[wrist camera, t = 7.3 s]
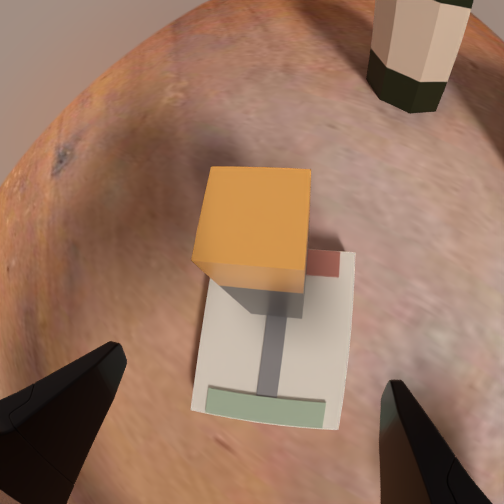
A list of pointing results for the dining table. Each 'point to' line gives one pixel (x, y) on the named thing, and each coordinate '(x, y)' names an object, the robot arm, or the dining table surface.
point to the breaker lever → (257, 236)
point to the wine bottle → (415, 50)
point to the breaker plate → (280, 352)
